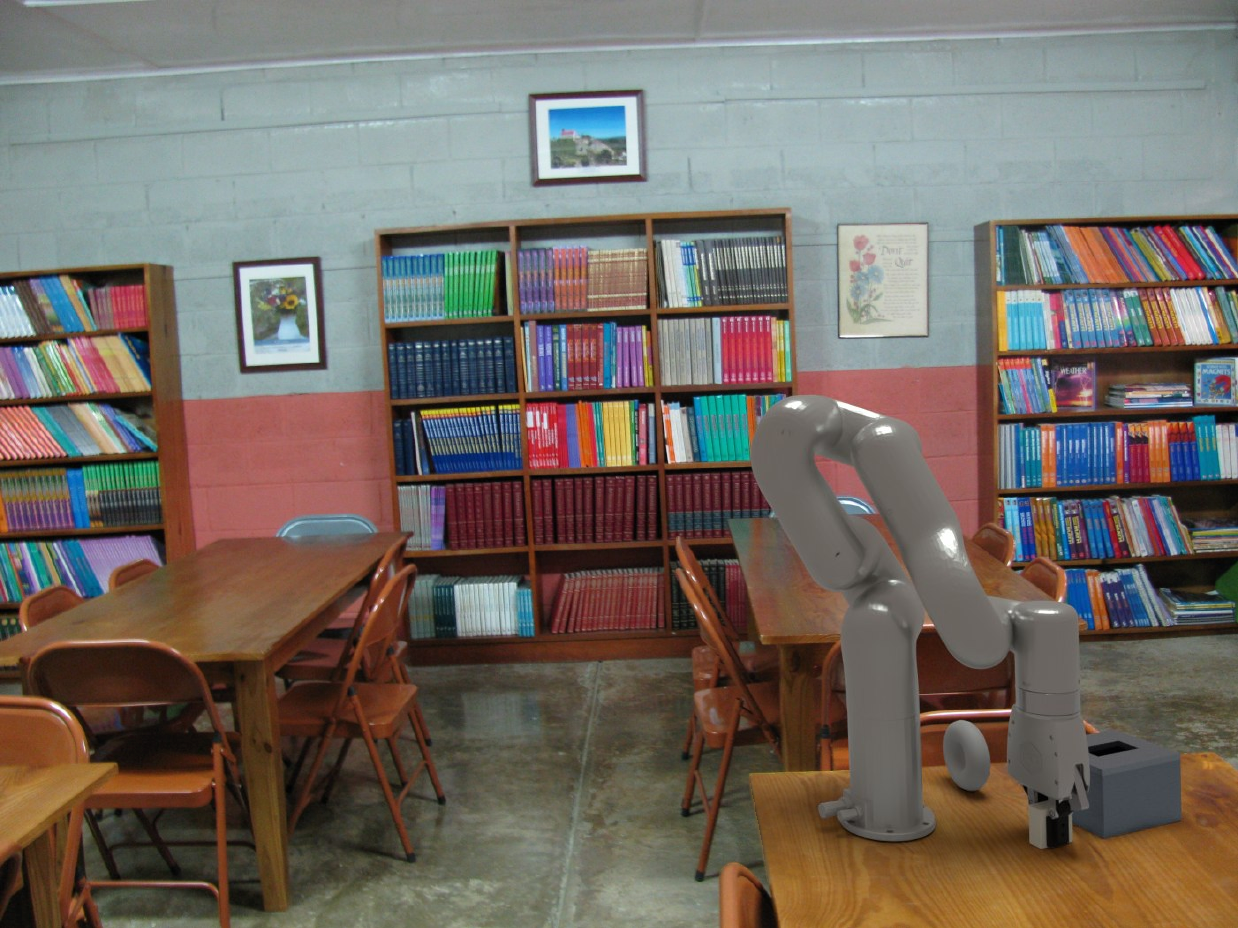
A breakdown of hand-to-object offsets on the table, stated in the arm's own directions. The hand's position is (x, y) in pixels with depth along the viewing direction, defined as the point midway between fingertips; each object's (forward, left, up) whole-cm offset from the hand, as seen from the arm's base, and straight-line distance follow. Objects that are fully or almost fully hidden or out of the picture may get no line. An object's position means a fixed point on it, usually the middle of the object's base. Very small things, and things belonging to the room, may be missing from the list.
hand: (1050, 840), depth 129 cm
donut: (+2, +19, 0) cm, 19 cm away
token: (0, 0, 0) cm, 0 cm away
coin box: (+13, +3, 0) cm, 14 cm away
